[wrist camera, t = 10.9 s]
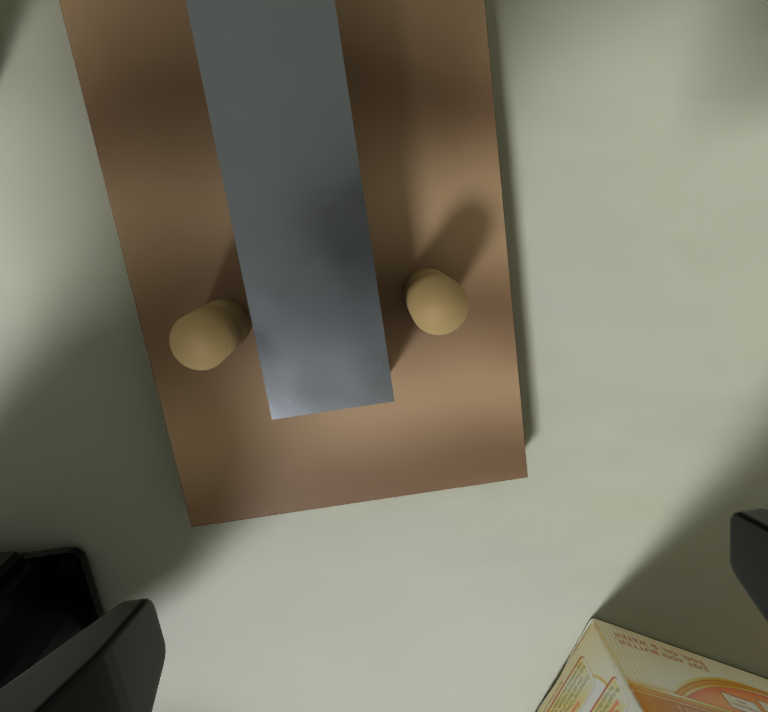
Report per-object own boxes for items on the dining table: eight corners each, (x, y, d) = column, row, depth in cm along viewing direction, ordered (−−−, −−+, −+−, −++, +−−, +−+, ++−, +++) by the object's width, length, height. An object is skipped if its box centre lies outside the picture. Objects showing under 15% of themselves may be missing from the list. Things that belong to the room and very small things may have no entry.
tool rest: (516, 459, 21) (556, 521, 17) (203, 506, 21) (161, 579, 17) (432, -425, 15) (460, -690, 11) (-7, -359, 15) (-160, -597, 11)
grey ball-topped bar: (408, 370, 19) (417, 398, 16) (267, 391, 19) (248, 423, 16) (291, -467, 14) (271, -654, 11) (97, -437, 14) (24, -616, 11)
